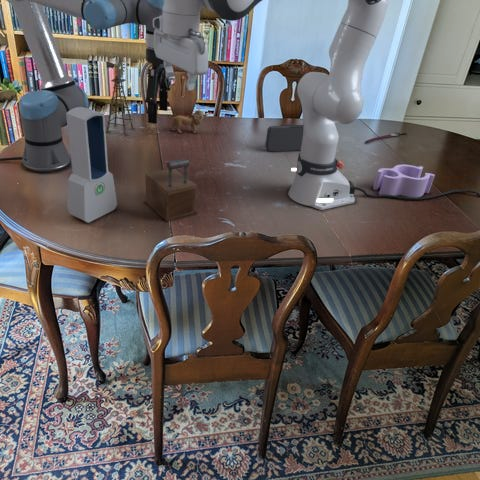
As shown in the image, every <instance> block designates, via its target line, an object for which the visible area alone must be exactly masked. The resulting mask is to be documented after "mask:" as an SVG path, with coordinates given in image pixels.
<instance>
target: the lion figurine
mask: <svg viewBox="0 0 480 480" xmlns="http://www.w3.org/2000/svg"><path fill="white" fill-rule="evenodd" d="M203 120H204V111H202V110H200V109H197V110H195V111H194V112H193V113H192V114H190V115H189V116H183V115H176V116H175V117H174V118H173V119H172V123H171V127H170V128H169V130H168V131H169V132H171V131H176V130H177V132H178V133H179V134H182V133H183V132H182V130H180V128H181V126H182V125H183V126H186V127H189V126H190V132H192V133H193V134H196V133H197V130H196V127H197V126H200V124H201V123H202V122H203ZM176 126H177V127H176ZM175 127H176V128H175Z"/></svg>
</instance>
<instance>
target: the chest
mask: <svg viewBox="0 0 480 480" xmlns="http://www.w3.org/2000/svg"><path fill="white" fill-rule="evenodd" d="M145 203H146V204H147V205H148V206H149V207H151V209H152V210H153V211H155V212H156V213H157V214H158V216H160V217H161V218H163V219H164V221H166V222H169V221H171V220H176V219H179V218H183V217H186V216H190V215H194V214H195V208H196V207H195V205H196V189H192V190H188V191H183V192H179V193H175V194H171V195H167V194H165V193H164V192H163V191H162V190H161V189H159V188H158V187H157V186H156V185H155V184H154V183H152V182H151V181H150V180H149V179H148V178H146V177H145Z"/></svg>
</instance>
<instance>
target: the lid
mask: <svg viewBox="0 0 480 480" xmlns="http://www.w3.org/2000/svg"><path fill="white" fill-rule="evenodd" d="M189 166H190V161H189V159H188V158H182V159H181V158H180V159H177V160H171V161H166V167H167V168H166V169H160V170H155V171H151V172H146V173H145V179H146V178H148V179H149V180H150V181H151V182H152V183H154V184H155V185H156V186H157V187H158V188H159V189H161V190H162V191H163V192H164V193H165V194H167V195H171V194H175V193H179V192H183V191H188V190H192V189H195V190H196V189H197V184H196V183H194V182H193V181H192V180H190V179H189V178H188V167H189ZM180 168H183V173H181V171H179V170H177V169H180Z"/></svg>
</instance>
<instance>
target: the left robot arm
mask: <svg viewBox="0 0 480 480" xmlns="http://www.w3.org/2000/svg"><path fill="white" fill-rule="evenodd" d="M5 1H6V2H8V3H9V4H10V5H11V6H12V8H13V11H14V14H15V16H16V19H17V22H18V24H19V27H20V29H21V31H22V34H23V36H24V39H25V41H26V44H27V46H28V49H29V51H30V54H31V57H32V59H33V62H34V64H35V66H36V69H37V71H38V74H39V77H40V79H41V85H40V87H39V90H35V91H34V90H33V91H28V92H26V93H25V94H23V95H22V96H20V98H19V102H18V105H19V110H18V111H19V115H20V120H21V126H22V132H23V137H24V148H23V153H22V156H14V157H1V158H0V162H6V161H20V160H21V161H22V166H23V168H24V169H25V170H27V171H29V172H33V173H39V174H46V173H56V172H61V171H63V170H66V169H67V168H69V167H70V166H71V165H72V163H71V154H70V152H69V151H68V150H67V149H68V148H67V147H66V145H65V143H64V140H63V132H62V129H63V128H65V127H66V126H67V118H66V113H67V112H68V111H70V110H71V109H73V108H77V107H84V108H88V109H89V105H90V104H89V98H88V95H87V93H86V91H85V90H84V89H83V88H81V86H80V85H77V84H76V81H75V78H73V77H72V76H69V74H68V73H67V69H66V67H65V65H64V62H63V59H62V56H61V54H60V51H59V48H58V45H57V43H56V40H55V37H54V35H53V31H52V29H51V26H50V23H49V21H48V18H47V16H46V12H45V10H44V7H46V8H49V9H50V10H54V11H57V12H60V13H62V14H65V15H67V16H70V17H74V18H77V19H79V20H82V21H84V22H86V24H88V25H89V27H91V28H92V29H94V30H99V31H100V30H102V31H103V30H109V29H111V28H114V27H118V26H119V27H120V26H122V25H127V24H133V25H140V26H145V47H146V49H145V60H146V62H147V63H151V67H150V68H148V72H147V73H148V76H147V77H148V78H147V85H146V86H147V87H146V93H145V94H146V95H145V99H144V103H146V104H147V123H148V124H155V125H157V124H158V111H163V112H167V111H168V106H169V105H168V104H169V103H168V102H169V101H168V100H169V92H170V91H171V87H170V86H171V85H170V80H168V79H166V71H165V67H164V60H162V59H159V58H157V57H156V54H155V50H154V31H155V29H156V28H154V27H153V19H154V18H156V17H159V16H161V15H162V9H163V5H164V0H5ZM157 99H158V102H157ZM158 107H159V108H158Z"/></svg>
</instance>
